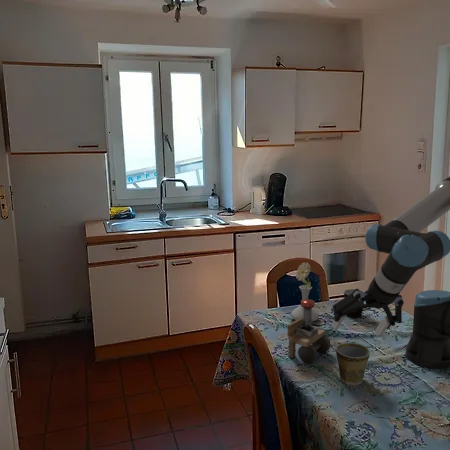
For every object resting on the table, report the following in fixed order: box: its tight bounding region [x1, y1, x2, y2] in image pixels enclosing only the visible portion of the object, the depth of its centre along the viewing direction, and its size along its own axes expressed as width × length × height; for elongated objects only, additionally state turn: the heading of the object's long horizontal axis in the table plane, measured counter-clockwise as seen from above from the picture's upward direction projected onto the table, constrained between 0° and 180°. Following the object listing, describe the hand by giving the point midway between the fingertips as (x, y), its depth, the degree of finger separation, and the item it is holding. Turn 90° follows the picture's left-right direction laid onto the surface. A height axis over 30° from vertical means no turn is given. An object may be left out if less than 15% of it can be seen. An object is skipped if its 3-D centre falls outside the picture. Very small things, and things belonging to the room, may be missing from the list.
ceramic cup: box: [335, 341, 371, 387], centre depth 142 cm, size 13×10×10 cm
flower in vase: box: [290, 261, 320, 323], centre depth 185 cm, size 13×11×25 cm
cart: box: [287, 317, 332, 364], centre depth 157 cm, size 10×12×12 cm
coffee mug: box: [343, 288, 371, 319], centre depth 189 cm, size 12×9×10 cm
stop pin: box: [300, 298, 316, 331], centre depth 156 cm, size 5×5×11 cm
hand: (356, 329), depth 136 cm, fingers open, 13 cm apart
